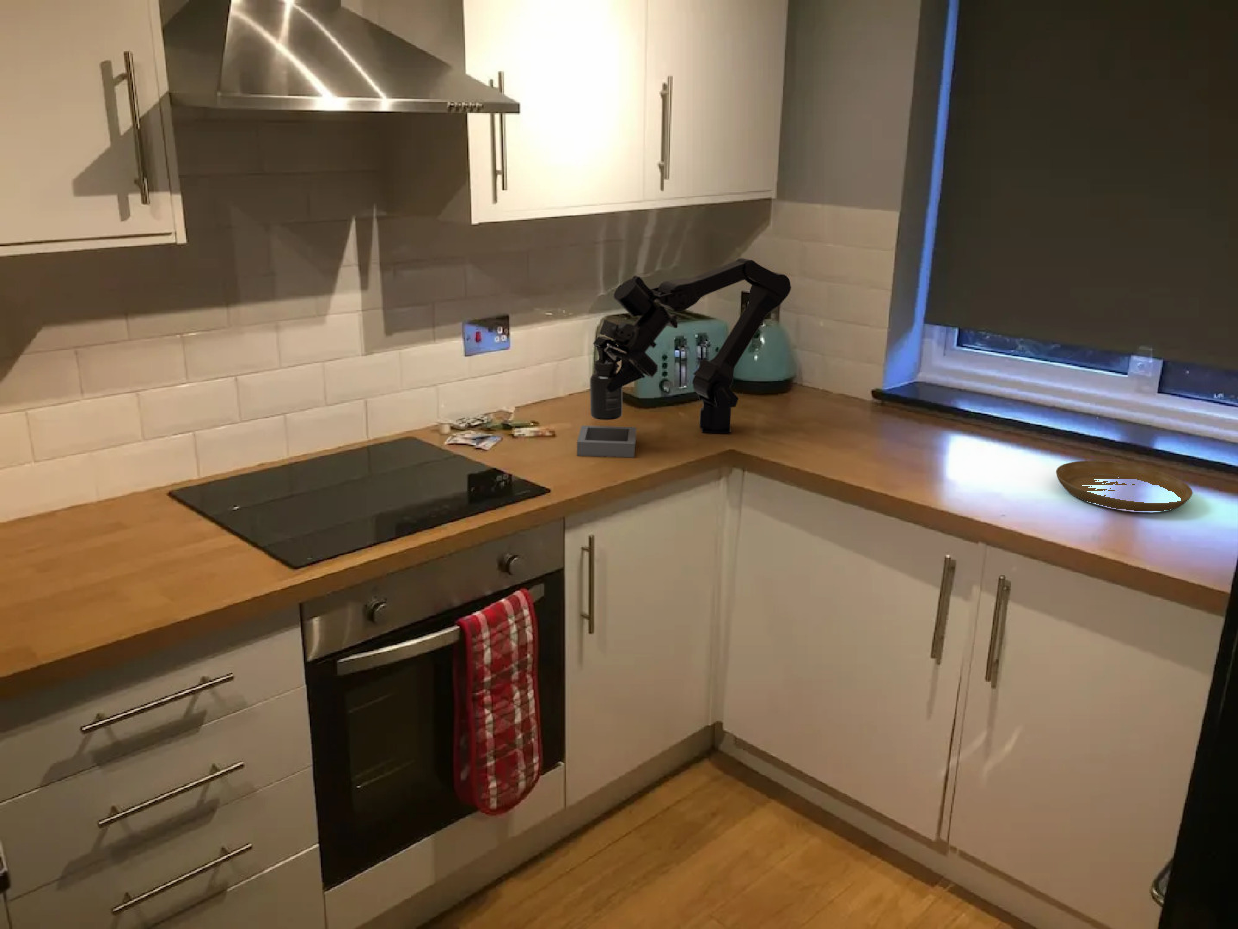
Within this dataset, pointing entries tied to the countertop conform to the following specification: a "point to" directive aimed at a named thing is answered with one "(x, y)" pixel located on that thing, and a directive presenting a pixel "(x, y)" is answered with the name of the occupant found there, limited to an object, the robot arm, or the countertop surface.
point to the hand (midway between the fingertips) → (600, 386)
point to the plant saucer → (1087, 471)
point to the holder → (606, 441)
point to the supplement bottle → (605, 391)
